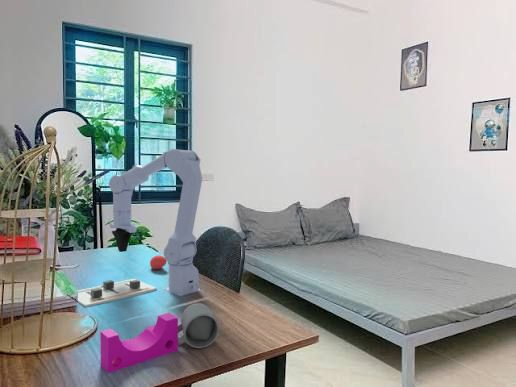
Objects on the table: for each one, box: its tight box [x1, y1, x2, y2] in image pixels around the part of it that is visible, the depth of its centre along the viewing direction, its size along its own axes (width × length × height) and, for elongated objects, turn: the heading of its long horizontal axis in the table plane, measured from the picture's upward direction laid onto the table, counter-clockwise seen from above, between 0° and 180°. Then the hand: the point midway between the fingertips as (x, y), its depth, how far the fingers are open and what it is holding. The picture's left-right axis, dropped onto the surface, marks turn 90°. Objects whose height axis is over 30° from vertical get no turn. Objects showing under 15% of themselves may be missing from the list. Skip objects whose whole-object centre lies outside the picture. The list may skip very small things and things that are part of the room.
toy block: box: [99, 312, 179, 374], centre depth 81 cm, size 15×6×8 cm, turn 133°
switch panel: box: [76, 278, 158, 308], centre depth 119 cm, size 14×22×2 cm, turn 136°
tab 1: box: [91, 288, 102, 298], centre depth 112 cm, size 2×2×2 cm
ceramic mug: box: [178, 302, 220, 349], centre depth 87 cm, size 11×8×8 cm
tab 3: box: [130, 279, 141, 289], centre depth 121 cm, size 2×2×2 cm
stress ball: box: [149, 255, 167, 270], centre depth 146 cm, size 5×9×6 cm, turn 27°
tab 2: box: [102, 279, 115, 289], centre depth 120 cm, size 2×2×2 cm
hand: (122, 251), depth 132 cm, fingers closed
